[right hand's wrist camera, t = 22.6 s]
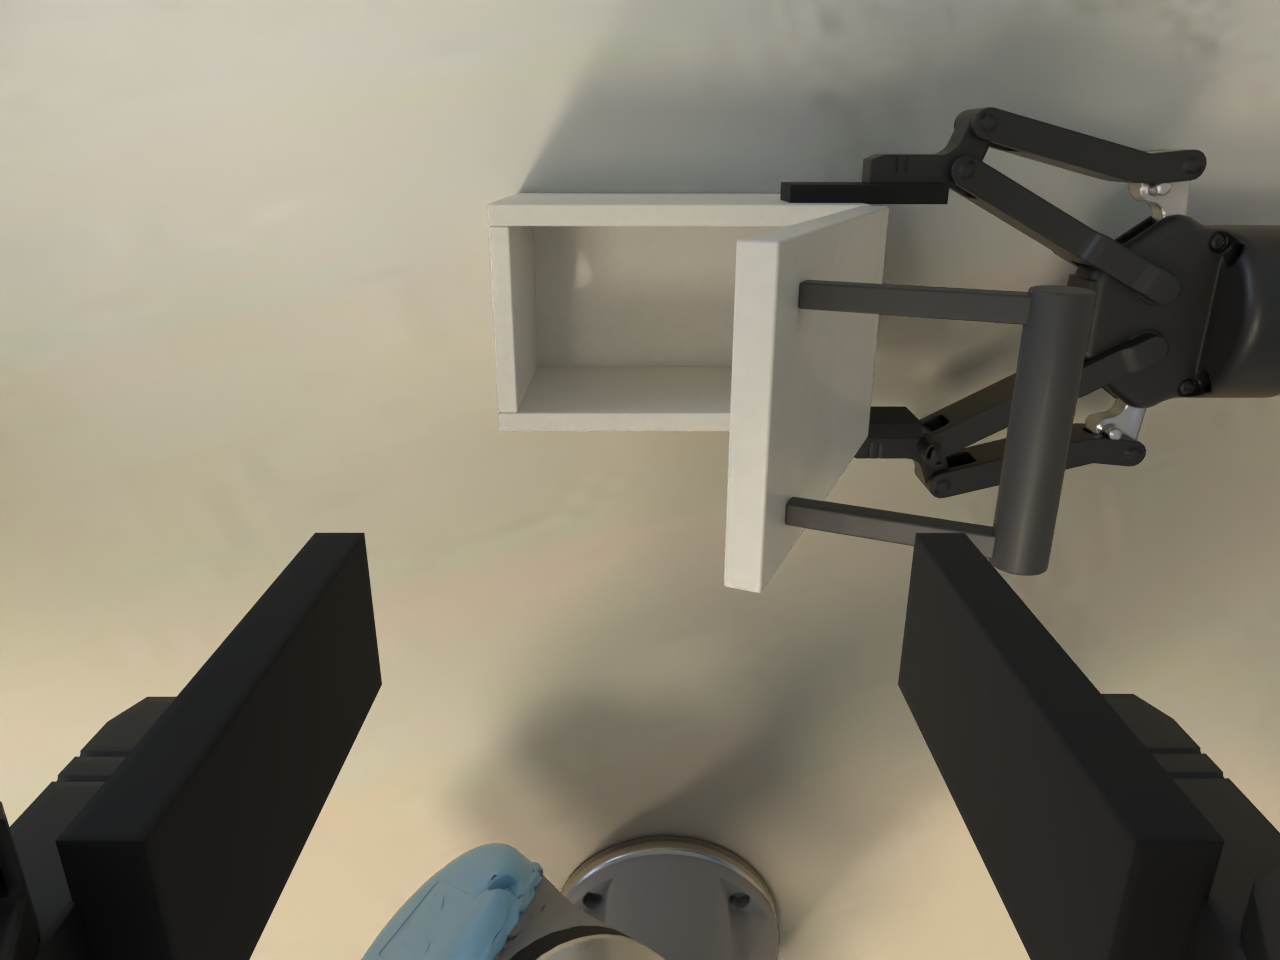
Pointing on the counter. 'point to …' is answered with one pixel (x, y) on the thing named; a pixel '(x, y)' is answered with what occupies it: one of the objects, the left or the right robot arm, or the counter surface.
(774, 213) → the chest
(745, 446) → the lid
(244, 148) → the counter surface
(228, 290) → the counter surface
